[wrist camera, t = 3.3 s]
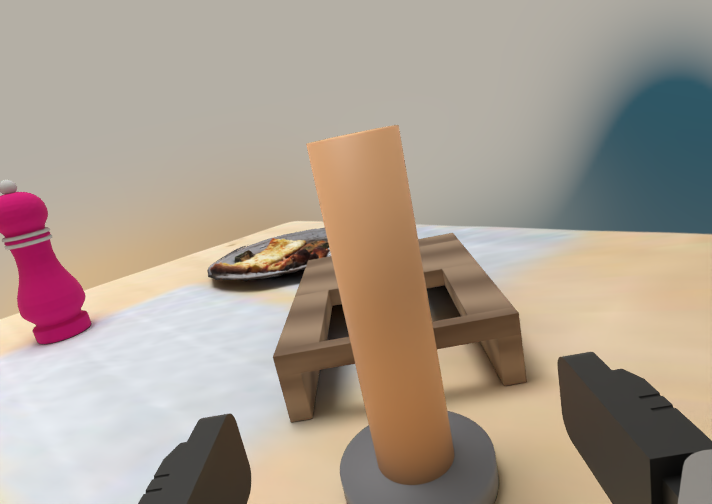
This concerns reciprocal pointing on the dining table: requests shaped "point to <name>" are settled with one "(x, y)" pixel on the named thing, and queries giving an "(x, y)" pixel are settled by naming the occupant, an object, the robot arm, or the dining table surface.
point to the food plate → (272, 256)
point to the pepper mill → (40, 269)
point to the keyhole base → (477, 322)
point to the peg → (393, 335)
